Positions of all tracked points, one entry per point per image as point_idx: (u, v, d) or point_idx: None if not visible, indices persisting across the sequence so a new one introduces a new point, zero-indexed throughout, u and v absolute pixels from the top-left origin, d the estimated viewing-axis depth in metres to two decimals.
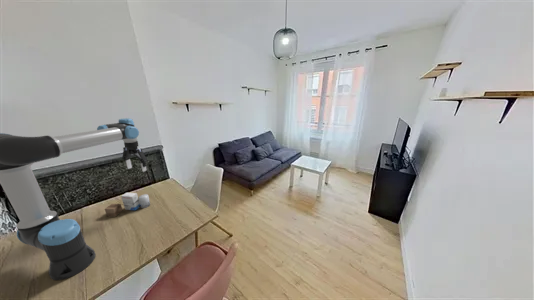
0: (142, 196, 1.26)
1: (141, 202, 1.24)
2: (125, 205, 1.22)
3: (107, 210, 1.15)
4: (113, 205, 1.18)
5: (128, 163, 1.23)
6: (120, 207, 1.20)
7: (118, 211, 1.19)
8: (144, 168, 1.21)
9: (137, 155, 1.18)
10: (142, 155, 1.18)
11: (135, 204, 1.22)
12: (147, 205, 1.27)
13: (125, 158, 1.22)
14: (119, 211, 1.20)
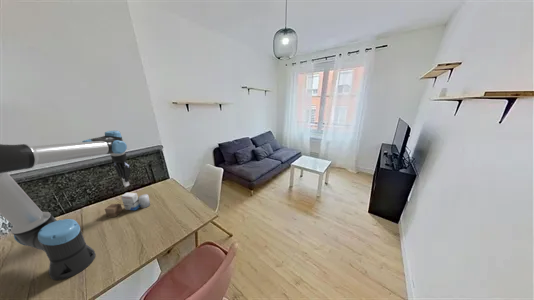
0: (142, 196, 1.26)
1: (141, 202, 1.24)
2: (125, 205, 1.22)
3: (107, 210, 1.15)
4: (113, 205, 1.18)
5: None
6: (120, 207, 1.20)
7: (118, 211, 1.19)
8: (127, 183, 1.19)
9: (123, 170, 1.14)
10: (127, 171, 1.14)
11: (135, 204, 1.22)
12: (147, 205, 1.27)
13: (120, 175, 1.16)
14: (119, 211, 1.20)
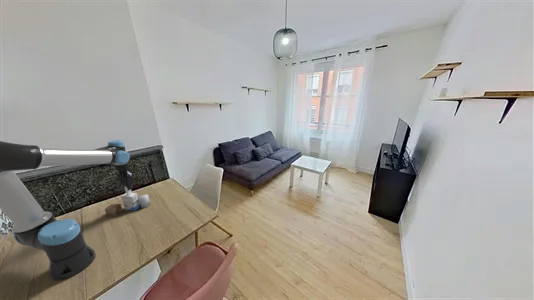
0: (142, 196, 1.26)
1: (141, 202, 1.24)
2: (125, 205, 1.22)
3: (107, 210, 1.15)
4: (113, 205, 1.18)
5: None
6: (120, 207, 1.20)
7: (118, 211, 1.19)
8: (129, 191, 1.21)
9: (125, 178, 1.16)
10: (130, 179, 1.16)
11: (135, 204, 1.22)
12: (147, 205, 1.27)
13: (123, 183, 1.18)
14: (119, 211, 1.20)
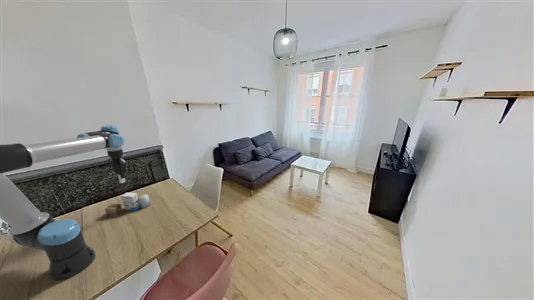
0: (142, 196, 1.26)
1: (141, 202, 1.24)
2: (125, 205, 1.22)
3: (107, 210, 1.15)
4: (113, 205, 1.18)
5: None
6: (120, 207, 1.20)
7: (118, 211, 1.19)
8: (122, 180, 1.16)
9: (119, 166, 1.12)
10: (123, 167, 1.12)
11: (135, 204, 1.22)
12: (147, 205, 1.27)
13: (116, 171, 1.14)
14: (119, 211, 1.20)
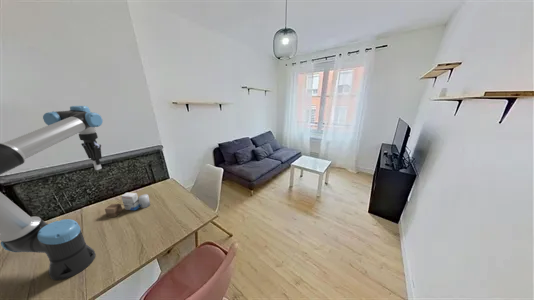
0: (142, 196, 1.26)
1: (141, 202, 1.24)
2: (125, 205, 1.22)
3: (107, 210, 1.15)
4: (113, 205, 1.18)
5: None
6: (120, 207, 1.20)
7: (118, 211, 1.19)
8: (98, 166, 1.07)
9: (93, 151, 1.03)
10: (98, 152, 1.03)
11: (135, 204, 1.22)
12: (147, 205, 1.27)
13: (90, 157, 1.04)
14: (119, 211, 1.20)
